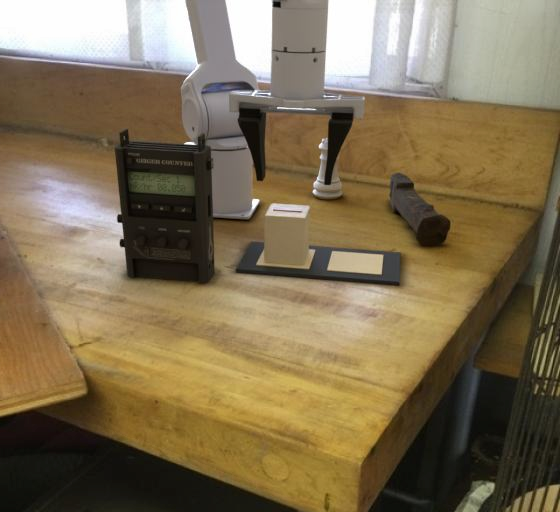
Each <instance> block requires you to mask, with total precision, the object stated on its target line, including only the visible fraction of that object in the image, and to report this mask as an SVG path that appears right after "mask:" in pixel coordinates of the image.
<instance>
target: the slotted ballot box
mask: <svg viewBox="0 0 560 512" xmlns="http://www.w3.org/2000/svg"><path fill="white" fill-rule="evenodd" d="M310 227H311V205H306V204H305V205H303V204H291V203H289V204H288V203H273V202H272V203H271V204H270V205H269V207H268V208H267V210H266V212H265V214H264V235H263V237H264V241H263V242H264V262H265V263H278V264H291V265H304V263H305V260H306V257H307V254H308V252H309V246H310V231H311V229H310Z"/></svg>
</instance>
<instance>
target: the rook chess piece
mask: <svg viewBox="0 0 560 512" xmlns="http://www.w3.org/2000/svg"><path fill="white" fill-rule="evenodd" d="M320 142H321V143H320V144H319V145H318V148H319V150H320V152H321V154H320V156H319V160H320V166H319V170H318V171H319V172H318V176H317V177H316V180H315V181H314V182H313V188H314V189H313V190H312V194H313V196H314V197H315V198H318V199H321V200H336V199H339V198H341V196H342V195H343V191H342V189H343V183H342V182H341V181H340V177H339V171H338V160H339V159H340V157H339V156H338V157H337V159H336V162H335V165H334V169H333V174H332V181H331V185H324V178H325V170H326V162H327V151H328V137H326V138H322V139H321V141H320Z"/></svg>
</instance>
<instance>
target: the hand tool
mask: <svg viewBox="0 0 560 512" xmlns="http://www.w3.org/2000/svg"><path fill="white" fill-rule="evenodd" d="M389 203H390V206H391V208H392V212H393V213H396V214H400V216H401V218H402V219H404V220H405V221H406V222H407V224H408V225H409V227H410V228H411V229H412V230H413V231H414V233H416V241H417V242H418V244H419V245H420V246H422V247H432V246H437V245H441V244H443V243H444V242H445V241H446V240H447V238H448V233H449V232H450V230H451V220H450V219H449V218H448V217H446V216H445V215H443V214H440V213H438V212H437V211H436V209H435V206H434V205H433V204H432V203H431V204H430V203H428V202H426V200H425V199H424V198H423V197H422V196H420V195H419V194H418V192H417V191H416V189H415V183H414V181H412V180H411V178H410V177H409V176H407V175H406V174H404V173H401V172H396V173H393V174H391V175H390V181H389Z"/></svg>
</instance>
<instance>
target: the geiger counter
mask: <svg viewBox="0 0 560 512" xmlns="http://www.w3.org/2000/svg"><path fill="white" fill-rule="evenodd" d="M201 141H202V144H201ZM114 155H115V165H116V176H117V186H118V196H119V206H120V213H118V214H117V216H116V221H117V223H118V224H121V225H122V236H123V237H122V238H120V239H119V247H120V248H124V256H125V265H126V275H127V277H128V278H130V279H134V278H136V277H139V278H148V279H159V280H160V279H161V280H172V281H183V282H195V283H198V284H199V285H205V284H209V283H210V281H211V280H212V279H213V277H214V275H215V274H216V272H215V271H216V269H215V268H216V266H215V235H214V234H215V233H214V232H215V231H214V217H213V200H212V169H213V168H214V167H213V158H211V147H210V146H208V145H205V133H202V134H201V135H200V136H198V145H192V144H185V143H177V142H176V143H175V142H174V143H173V142H157V141H139V140H130V135H129V128H125V129H123V130H121V131H119V144H117V146H115V147H114Z"/></svg>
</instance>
